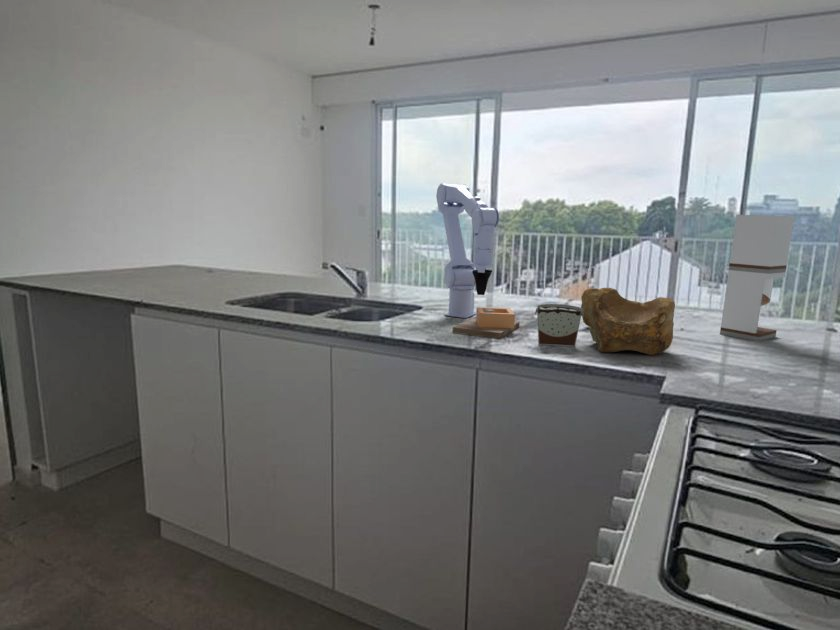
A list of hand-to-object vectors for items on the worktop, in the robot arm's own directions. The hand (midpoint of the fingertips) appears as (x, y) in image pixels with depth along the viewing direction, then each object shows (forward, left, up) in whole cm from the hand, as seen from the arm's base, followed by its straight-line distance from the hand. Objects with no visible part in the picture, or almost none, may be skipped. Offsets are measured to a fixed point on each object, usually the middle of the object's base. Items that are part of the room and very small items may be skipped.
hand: (481, 294), depth 162 cm
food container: (+12, +25, -10) cm, 30 cm away
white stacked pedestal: (-30, +73, -10) cm, 80 cm away
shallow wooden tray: (+4, +6, -8) cm, 11 cm away
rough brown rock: (+11, +41, -10) cm, 44 cm away
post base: (+6, +4, -9) cm, 12 cm away
